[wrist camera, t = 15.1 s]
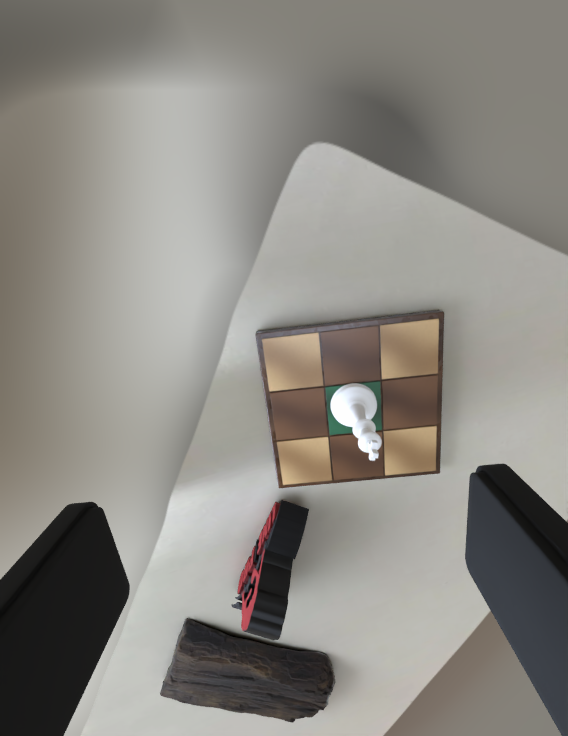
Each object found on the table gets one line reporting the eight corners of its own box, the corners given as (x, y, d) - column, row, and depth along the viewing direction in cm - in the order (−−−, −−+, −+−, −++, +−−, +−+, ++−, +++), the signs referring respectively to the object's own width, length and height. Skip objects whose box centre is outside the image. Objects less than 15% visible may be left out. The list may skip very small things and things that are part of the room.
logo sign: (282, 487, 42) (279, 565, 31) (308, 496, 42) (314, 576, 32) (234, 587, 47) (218, 683, 37) (257, 594, 48) (248, 691, 37)
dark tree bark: (185, 614, 50) (164, 677, 54) (176, 642, 46) (154, 707, 51) (344, 657, 51) (311, 714, 56) (348, 687, 48) (312, 746, 52)
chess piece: (379, 384, 36) (411, 430, 27) (373, 425, 38) (401, 483, 28) (332, 381, 36) (348, 427, 27) (328, 423, 38) (341, 480, 28)
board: (256, 331, 36) (255, 334, 35) (439, 309, 35) (445, 312, 34) (279, 482, 42) (278, 489, 40) (436, 467, 41) (441, 474, 39)
